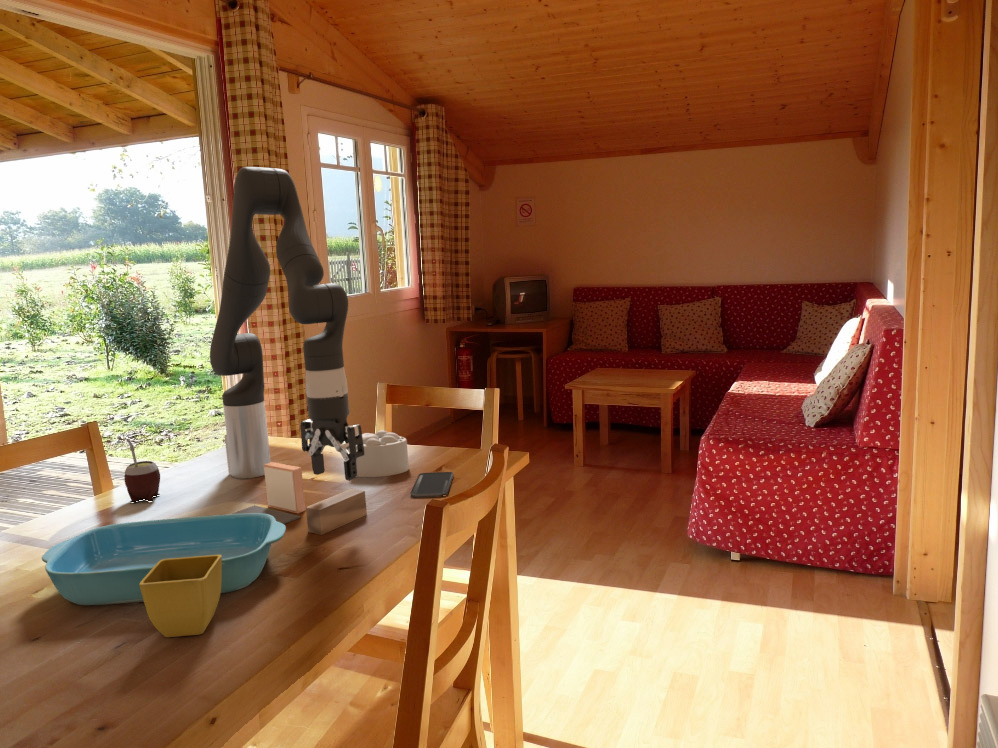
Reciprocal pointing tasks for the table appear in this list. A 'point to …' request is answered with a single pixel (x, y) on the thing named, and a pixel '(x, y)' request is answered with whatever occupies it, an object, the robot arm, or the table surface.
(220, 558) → the flower pot
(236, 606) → the table surface
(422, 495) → the phone
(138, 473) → the mate gourd
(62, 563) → the casserole dish
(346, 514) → the bar
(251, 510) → the mat
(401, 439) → the lumpy-topped squat cylinder
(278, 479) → the tile
